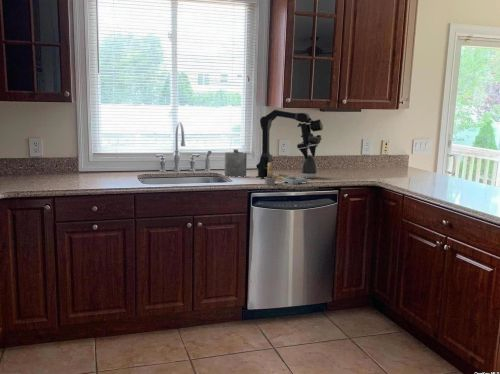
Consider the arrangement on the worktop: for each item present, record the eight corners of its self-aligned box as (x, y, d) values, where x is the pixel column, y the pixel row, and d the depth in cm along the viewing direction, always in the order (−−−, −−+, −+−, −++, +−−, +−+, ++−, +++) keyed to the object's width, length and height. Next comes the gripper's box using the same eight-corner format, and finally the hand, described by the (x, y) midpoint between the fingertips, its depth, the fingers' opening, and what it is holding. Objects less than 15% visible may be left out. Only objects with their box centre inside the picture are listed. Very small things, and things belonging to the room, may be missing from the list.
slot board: (270, 178, 325) (270, 174, 324) (282, 177, 330) (282, 173, 330) (281, 181, 315) (281, 177, 314) (293, 180, 320) (294, 176, 320)
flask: (225, 175, 335) (225, 148, 331) (246, 176, 334) (246, 149, 330) (224, 176, 331) (224, 149, 328) (246, 177, 330) (246, 149, 327)
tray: (281, 181, 314) (281, 177, 314) (295, 180, 320) (295, 176, 320) (292, 184, 305) (292, 180, 305) (306, 183, 311) (306, 178, 311)
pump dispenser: (297, 177, 331) (298, 154, 328) (307, 176, 338) (308, 153, 336) (309, 179, 324) (310, 156, 321) (319, 178, 331) (320, 155, 328)
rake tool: (265, 183, 307) (265, 162, 305) (273, 183, 308) (273, 162, 305) (266, 185, 302) (267, 163, 300) (274, 185, 303) (275, 163, 300)
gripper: (310, 132, 301) (314, 158, 303) (324, 129, 316) (328, 154, 318) (294, 135, 308) (298, 160, 309) (309, 132, 323) (312, 156, 324)
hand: (310, 157), depth 315 cm, fingers open, 9 cm apart
